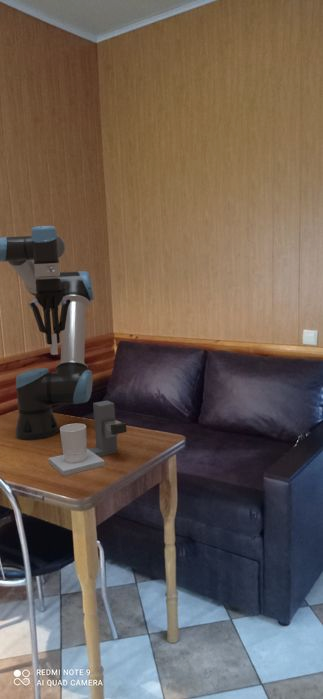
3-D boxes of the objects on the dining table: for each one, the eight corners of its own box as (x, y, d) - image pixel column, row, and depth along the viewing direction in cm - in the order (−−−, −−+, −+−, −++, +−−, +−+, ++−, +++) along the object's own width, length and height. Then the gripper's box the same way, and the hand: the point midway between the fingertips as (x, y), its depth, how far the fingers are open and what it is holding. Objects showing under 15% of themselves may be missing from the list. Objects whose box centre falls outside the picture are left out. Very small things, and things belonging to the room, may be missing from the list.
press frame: (48, 462, 164) (44, 412, 161) (110, 447, 174) (107, 400, 172) (63, 476, 153) (59, 422, 150) (128, 459, 163) (125, 408, 160)
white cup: (80, 452, 167) (78, 421, 165) (93, 458, 161) (91, 427, 159) (57, 459, 162) (55, 427, 161) (70, 465, 156) (67, 433, 154)
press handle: (103, 436, 166) (101, 420, 165) (115, 433, 168) (114, 417, 168) (114, 443, 159) (112, 426, 159) (127, 440, 162) (126, 423, 161)
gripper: (30, 279, 156) (37, 358, 160) (72, 276, 163) (78, 352, 166) (23, 279, 163) (30, 355, 166) (63, 276, 169) (69, 350, 173)
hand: (54, 354), depth 166 cm, fingers closed
